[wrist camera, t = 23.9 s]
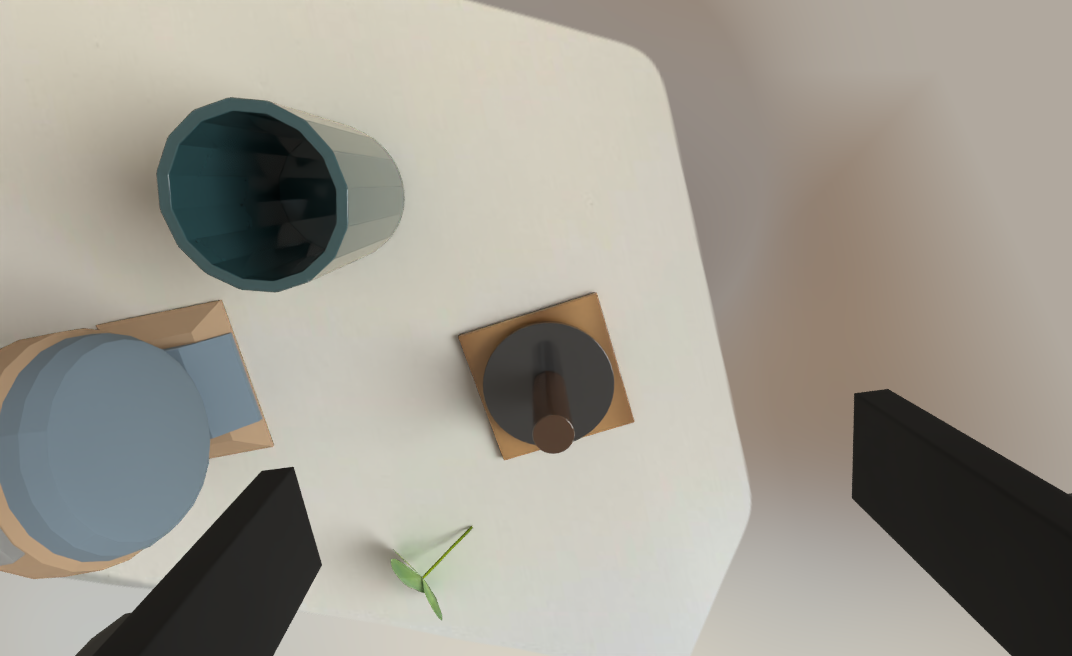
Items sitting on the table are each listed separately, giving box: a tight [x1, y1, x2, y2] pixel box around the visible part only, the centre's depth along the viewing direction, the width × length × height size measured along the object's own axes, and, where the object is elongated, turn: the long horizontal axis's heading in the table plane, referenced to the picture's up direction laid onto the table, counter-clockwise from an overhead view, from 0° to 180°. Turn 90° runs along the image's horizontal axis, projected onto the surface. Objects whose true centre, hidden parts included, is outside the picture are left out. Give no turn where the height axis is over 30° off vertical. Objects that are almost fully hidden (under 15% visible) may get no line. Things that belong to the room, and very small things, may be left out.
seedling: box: [391, 526, 473, 620], centre depth 45 cm, size 7×8×6 cm
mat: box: [458, 293, 634, 460], centre depth 42 cm, size 11×11×1 cm
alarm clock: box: [0, 300, 274, 579], centre depth 34 cm, size 14×10×18 cm
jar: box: [156, 97, 404, 292], centre depth 32 cm, size 9×9×12 cm
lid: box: [483, 321, 614, 454], centre depth 37 cm, size 10×10×9 cm
